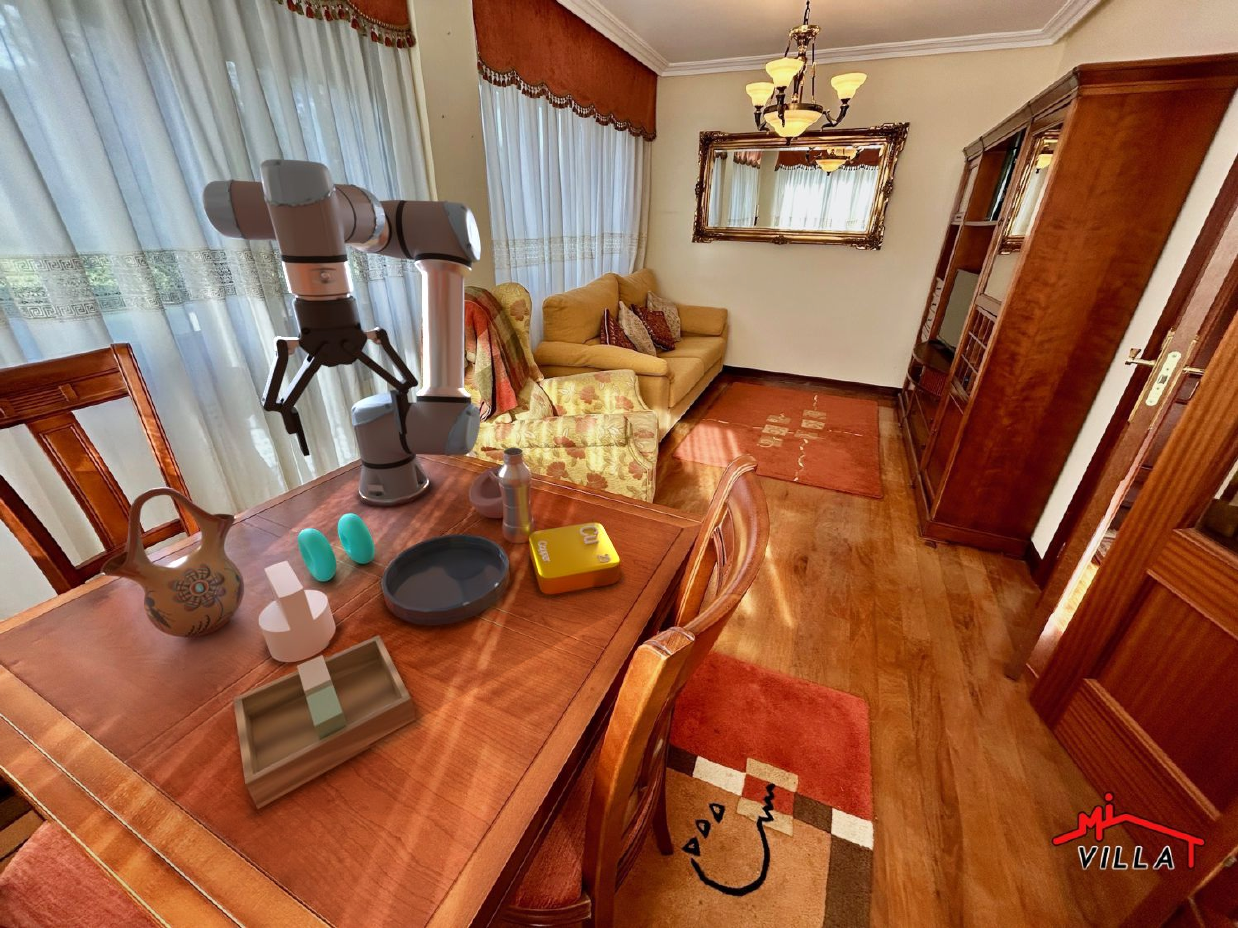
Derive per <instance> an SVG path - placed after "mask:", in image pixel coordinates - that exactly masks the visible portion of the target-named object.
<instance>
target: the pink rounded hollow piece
mask: <svg viewBox="0 0 1238 928" xmlns="http://www.w3.org/2000/svg"><path fill="white" fill-rule="evenodd" d="M502 466H503V464H501V465H495V466H493V467H490V468H487V469H486V470H485V471H483V472H482V473H480V474H479V475H478V476H477V477H476V478H475V479H474V481H473V482H472V484H471V486H470V488H469V490H468V499H469V501H470V503H471V505H472V507H473V508H474V510H475V511H476V512H477V513H479V514H480V515H482V516H484V517H487V518H489V519H503V501H502V494H501V490H500V487H499V483H498V478H497V476H498V472H499V470H500V468H501V467H502Z"/></svg>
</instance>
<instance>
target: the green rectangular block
mask: <svg viewBox="0 0 1238 928" xmlns="http://www.w3.org/2000/svg"><path fill="white" fill-rule="evenodd" d="M306 699H307V702H308V706H309V709H310V713H311V716H312V720H313V723H314V727H315V729H316V732H317V735H318V738H319V740H321V739H323V738H325V737H327V736H329V735H331V734H333V733H335V732H337V731H339V730H341V729H343V728H345V727H347V724H346V721H345V718H344V715H343V712H342V709H341V706H340V703H339V701H338V698H337V695H336V692H335V689H334V686H333V685H331V686H329V687H327V688H325V689H323V690H321V691H318V692H316V693H314V694H312V695H310V696H308V697H306Z"/></svg>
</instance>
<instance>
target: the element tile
mask: <svg viewBox="0 0 1238 928" xmlns="http://www.w3.org/2000/svg"><path fill="white" fill-rule="evenodd" d="M528 543H529V555H530V558H531V562H532V563H531V564H532V567H533V569H534V573H535V577H536V581H537V584H538V589H539V590H540V592H542V593H543V594H545V595H555V594H561V593H566V592H571V591H577V590H582V589H583V590H584V589H587V588H592V587H593V588H599V587H605V586H610V585H613V584H615V583H617V582H618V581H619V580H620V571H621V569H620V568H621V559H620V556H619V555H618V553H617V551H616V549H615V547H614V545H613V543H612V541H611V540H610V537H609V535H608V533H607V532H606V530H605V528H604V526H603V525H602V524H600V523H599V522H587V523H580V524H574V525H567V526H561V527H555V528H549V529H548V528H546V529H542V530H535V532H533V533H532V534H530V536H529V541H528Z"/></svg>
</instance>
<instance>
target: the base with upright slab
mask: <svg viewBox="0 0 1238 928" xmlns="http://www.w3.org/2000/svg"><path fill="white" fill-rule="evenodd" d="M263 570H264V573H265V576H266V579H267V581H268V585H269V587H270V589H271V593H272V595H273V598H274V600H273V601H271V602H270V603H268V605H267V606H266V607H264V609H262V611H261V612H260V614H259V616H258V620H257V621H258V626H259V628H260V631H261V634H262V636H263V639H264V641H265V643H266V646H267V649H268V652H269V654H270V656H271V657H272V658H273V659H274V660H276V661H278V662H283V663H295V662H299V661H304V660H306V659H309V658H311V657H313V656H315V655H317V654H319V653H321V652H323V650H325V649H326V648H327V647H328V646H329V645H330V644H331V641H330V640H332V638H333V637H334V635H335V633H336V628H337V626H336V623H335V620H334V617H333V613H332V610H331V607H330V603H329V599H328V597H327V595H326V594H325V593H324V592H323V591H320V590H316V589H304V587H303V585H302V583H301V581H300V579H299V578H298V576H297V575H296V573H295V572H294V570H293V567H291V565H290V563H289V562H288V560H284V561H280V562H277V563H273V564H272V565H269V566H267V567H265V568H264V569H263Z"/></svg>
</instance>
